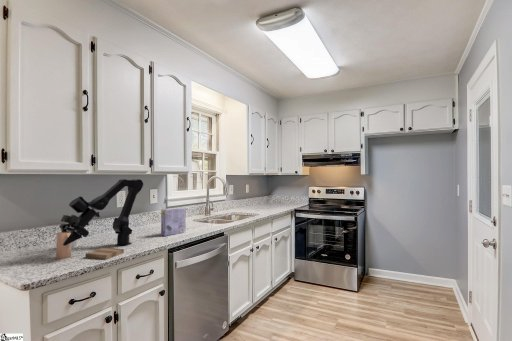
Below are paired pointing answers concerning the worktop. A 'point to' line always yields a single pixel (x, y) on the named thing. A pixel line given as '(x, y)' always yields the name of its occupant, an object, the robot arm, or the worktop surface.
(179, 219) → the cake pan box
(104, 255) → the walnut stand
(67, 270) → the worktop surface
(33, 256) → the worktop surface
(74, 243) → the shot glass
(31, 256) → the worktop surface
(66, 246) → the pink rounded glossy part
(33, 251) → the worktop surface
